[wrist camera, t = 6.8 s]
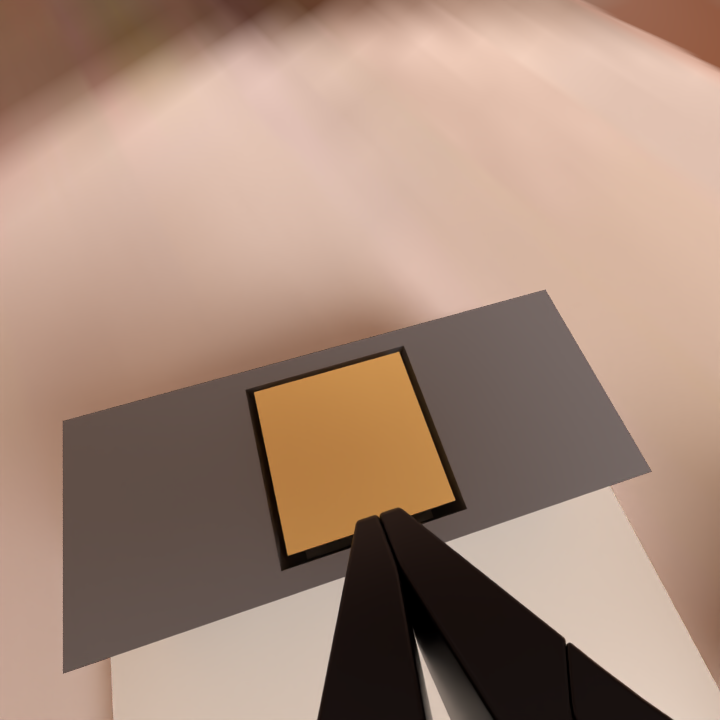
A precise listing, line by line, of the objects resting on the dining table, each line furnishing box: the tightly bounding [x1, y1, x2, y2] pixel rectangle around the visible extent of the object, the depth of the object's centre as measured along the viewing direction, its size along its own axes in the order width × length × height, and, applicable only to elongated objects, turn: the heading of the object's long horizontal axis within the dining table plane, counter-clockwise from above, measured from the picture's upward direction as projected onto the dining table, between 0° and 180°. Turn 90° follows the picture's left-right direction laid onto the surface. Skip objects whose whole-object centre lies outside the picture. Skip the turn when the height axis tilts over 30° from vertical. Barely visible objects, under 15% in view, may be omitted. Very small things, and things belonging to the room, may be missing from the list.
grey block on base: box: [63, 290, 720, 720], centre depth 13 cm, size 18×20×7 cm
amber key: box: [254, 352, 455, 556], centre depth 13 cm, size 5×5×3 cm
